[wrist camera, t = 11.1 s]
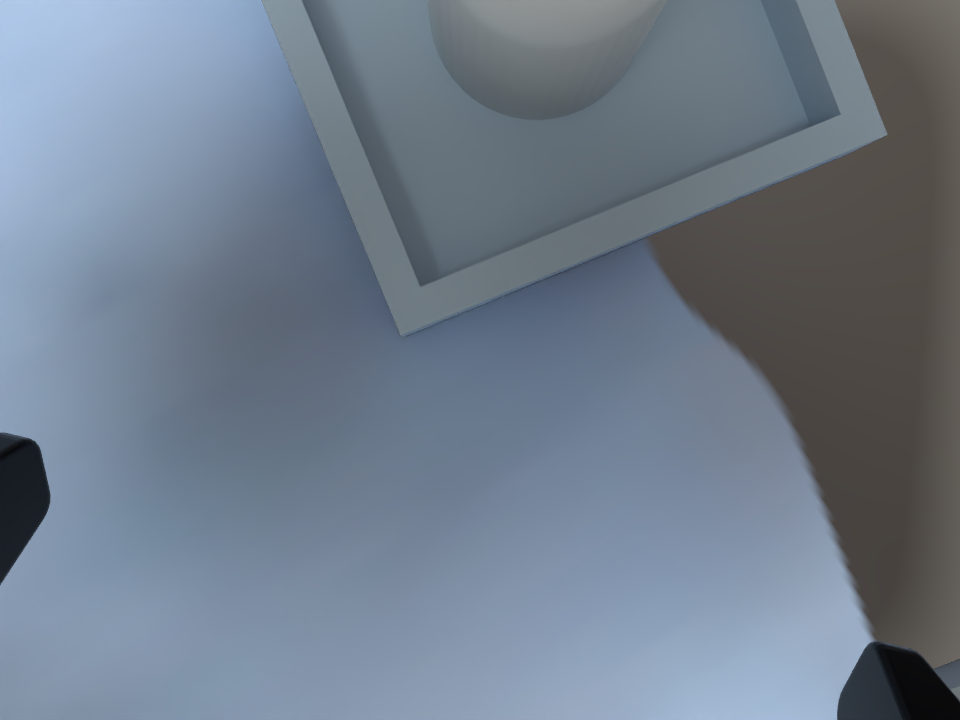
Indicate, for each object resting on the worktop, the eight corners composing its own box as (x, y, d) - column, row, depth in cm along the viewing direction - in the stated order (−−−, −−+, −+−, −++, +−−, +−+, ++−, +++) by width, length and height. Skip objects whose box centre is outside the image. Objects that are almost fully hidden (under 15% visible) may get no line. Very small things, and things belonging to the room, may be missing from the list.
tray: (406, 336, 19) (400, 335, 17) (219, -115, 19) (191, -169, 17) (843, 155, 20) (887, 134, 18) (666, -292, 19) (690, -365, 17)
